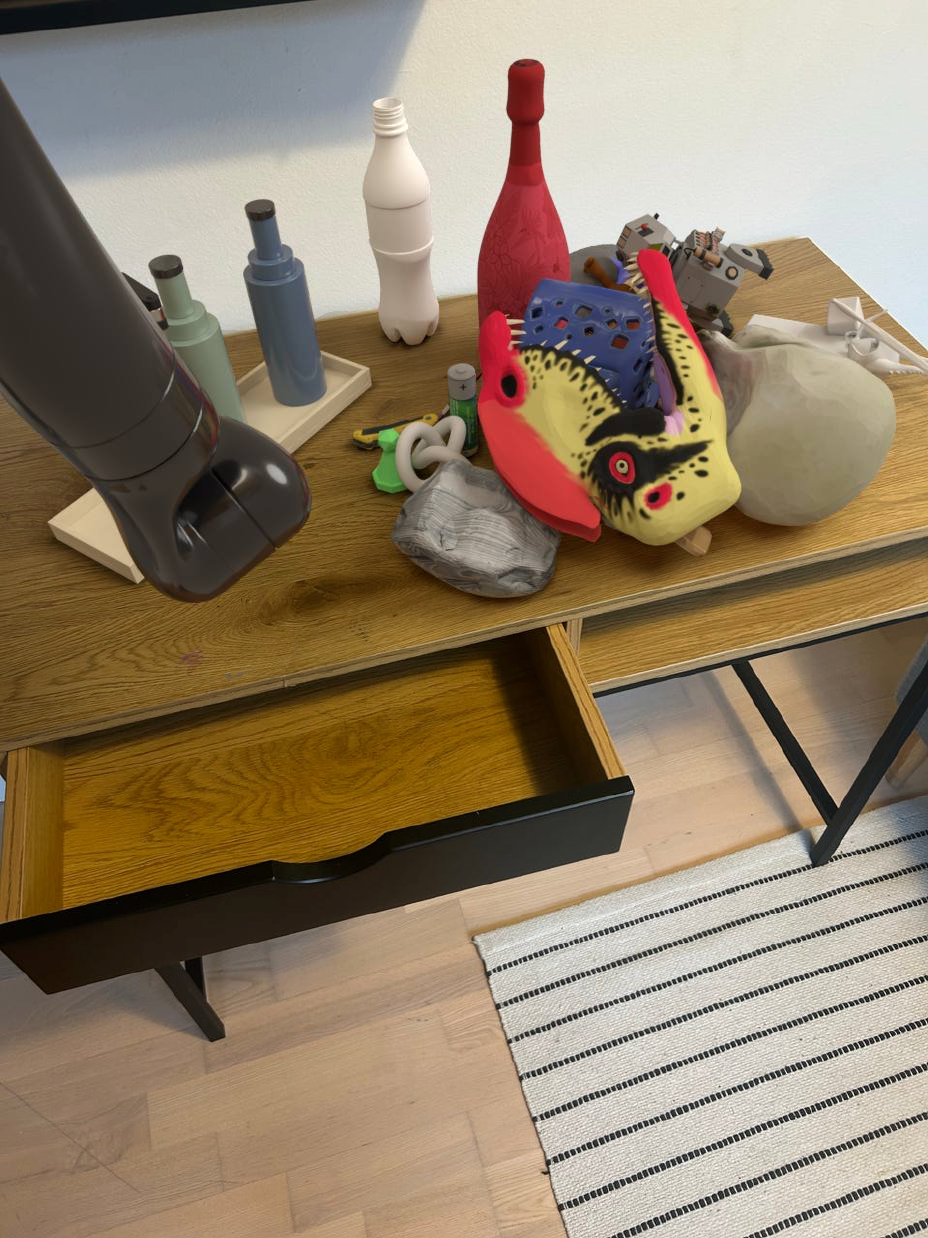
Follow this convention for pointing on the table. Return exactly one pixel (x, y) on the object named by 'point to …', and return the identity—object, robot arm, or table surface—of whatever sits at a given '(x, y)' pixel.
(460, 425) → the knot
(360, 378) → the tray
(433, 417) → the utility knife
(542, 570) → the decorative stone
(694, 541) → the sandal
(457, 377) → the battery
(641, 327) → the flower pot
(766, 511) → the skull
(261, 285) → the slate-blue bottle
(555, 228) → the wine bottle
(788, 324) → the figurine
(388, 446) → the game piece
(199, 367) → the grey-green bottle
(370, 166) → the water bottle
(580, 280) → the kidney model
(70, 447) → the robot arm
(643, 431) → the toy
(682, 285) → the figurine
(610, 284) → the toy figurine
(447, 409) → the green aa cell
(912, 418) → the table surface
